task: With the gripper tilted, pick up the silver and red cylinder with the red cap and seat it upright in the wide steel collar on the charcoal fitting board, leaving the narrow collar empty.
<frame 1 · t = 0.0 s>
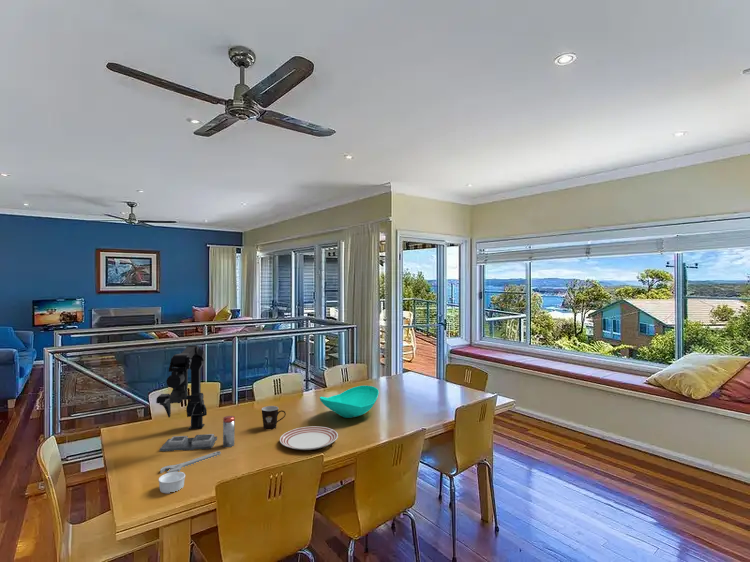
hand: (180, 416, 186), 15 cm above the table, tool pointing down, fingers open, 9 cm apart
silver and red cylinder: (228, 445, 190), on the table
table top decor: (349, 416, 235), on the table
fitting board: (189, 445, 191), on the table
ramekin: (171, 489, 151), on the table
coffee mug: (272, 428, 214), on the table
adjustable wrench: (192, 465, 171), on the table
dinner plate: (309, 443, 195), on the table
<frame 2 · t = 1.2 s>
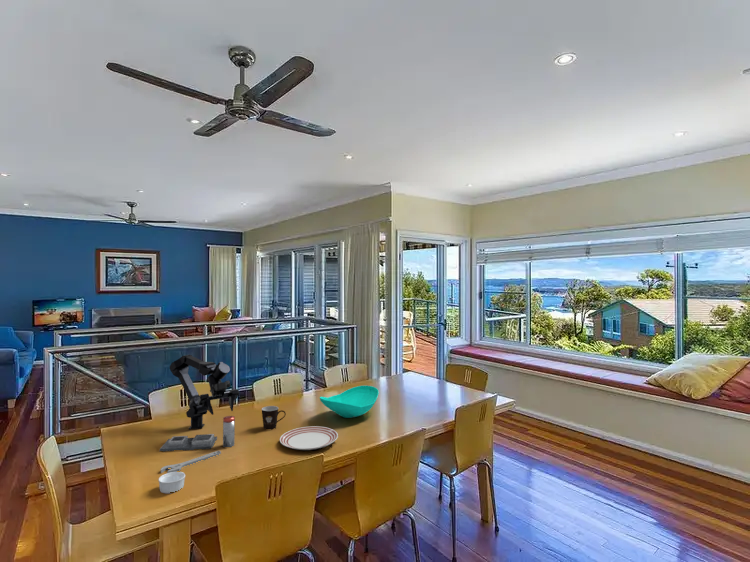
hand: (222, 412, 197), 13 cm above the table, tool tilted 45°, fingers open, 9 cm apart
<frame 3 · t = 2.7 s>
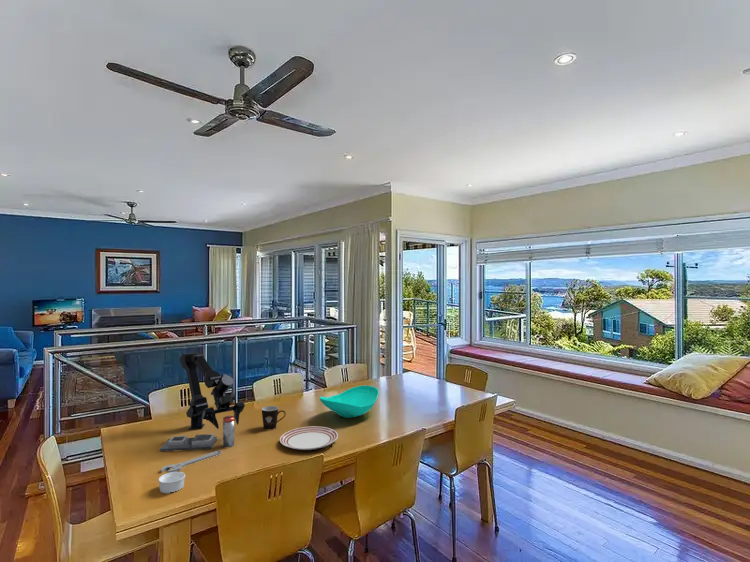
hand: (228, 426, 191), 9 cm above the table, tool tilted 45°, fingers open, 9 cm apart
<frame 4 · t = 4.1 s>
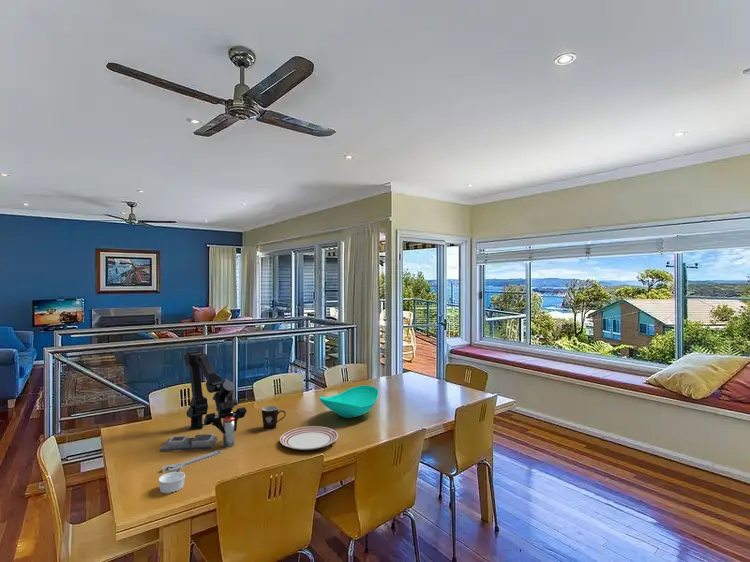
hand: (229, 432, 189), 7 cm above the table, tool tilted 45°, fingers closed on silver and red cylinder, 5 cm apart
silver and red cylinder: (228, 445, 190), on the table, touching gripper
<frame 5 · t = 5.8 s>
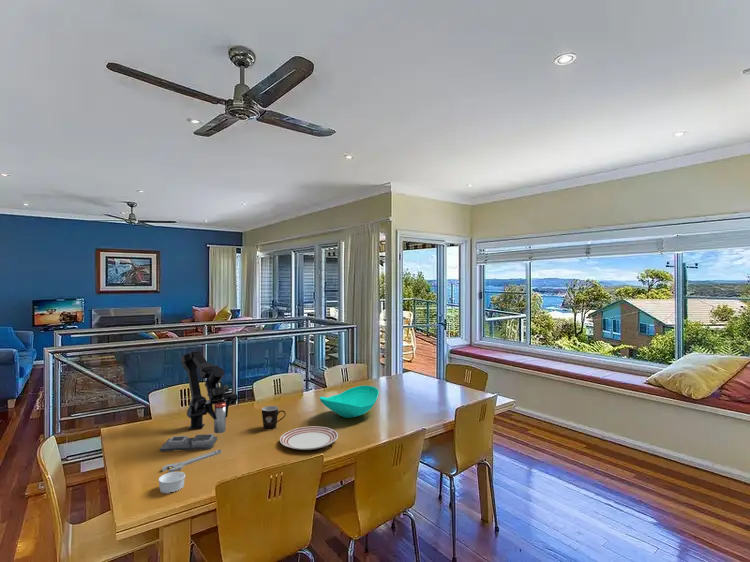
hand: (220, 418, 190), 13 cm above the table, tool tilted 45°, fingers closed on silver and red cylinder, 5 cm apart
silver and red cylinder: (219, 431, 191), point 6 cm above the table, touching gripper
when the fingers open (8 cm above the table, at t = 7.9 s): silver and red cylinder stays where it is, resting on fitting board.
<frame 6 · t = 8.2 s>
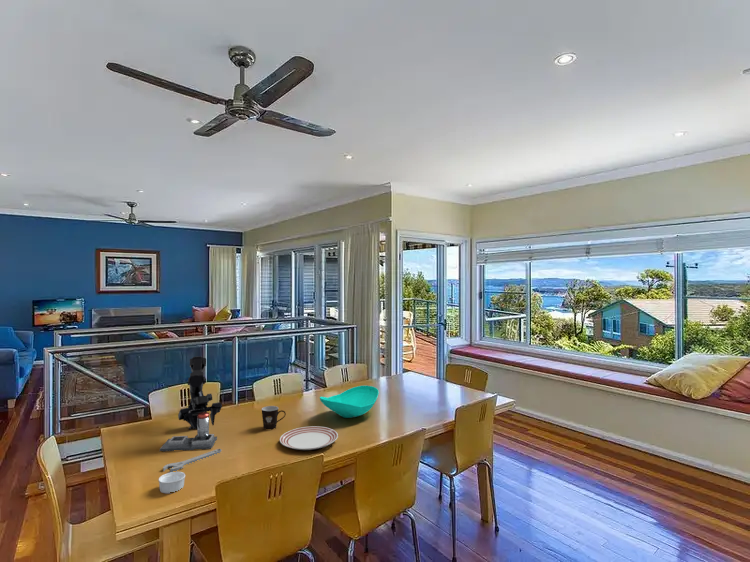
hand: (204, 426, 190), 9 cm above the table, tool tilted 45°, fingers open, 8 cm apart
silver and red cylinder: (203, 441, 192), point 1 cm above the table, touching fitting board
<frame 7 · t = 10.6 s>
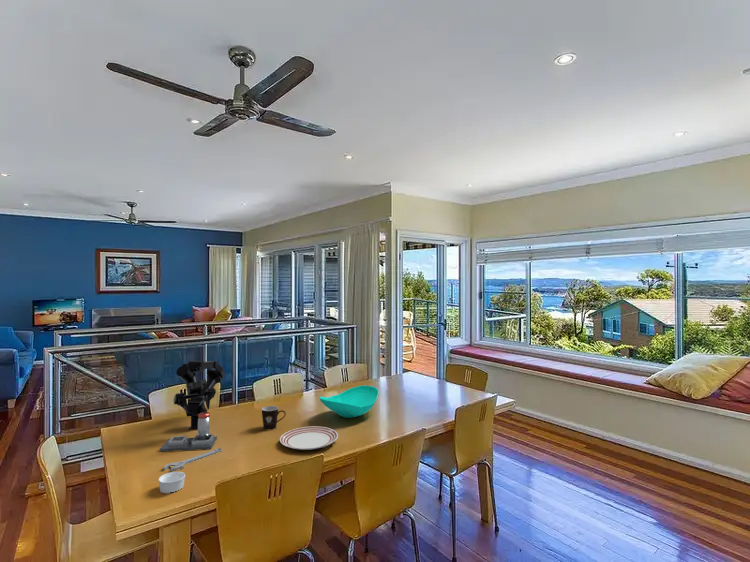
hand: (198, 411, 198), 14 cm above the table, tool tilted 45°, fingers open, 9 cm apart
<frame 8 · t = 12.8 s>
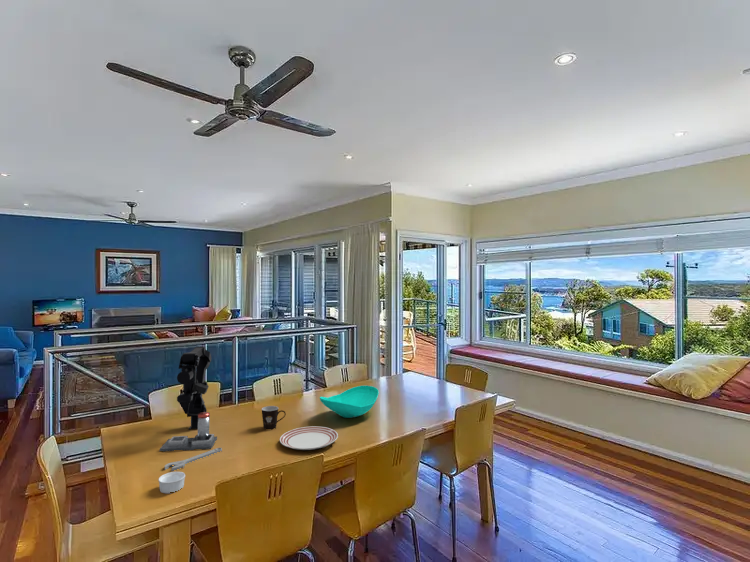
hand: (189, 410, 200), 13 cm above the table, tool pointing down, fingers open, 9 cm apart
at the end: silver and red cylinder 0.1 cm from the target spot on the fitting board, point 1.3 cm above the fitting board's base; silver and red cylinder tilted 1°; the gripper is holding nothing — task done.
